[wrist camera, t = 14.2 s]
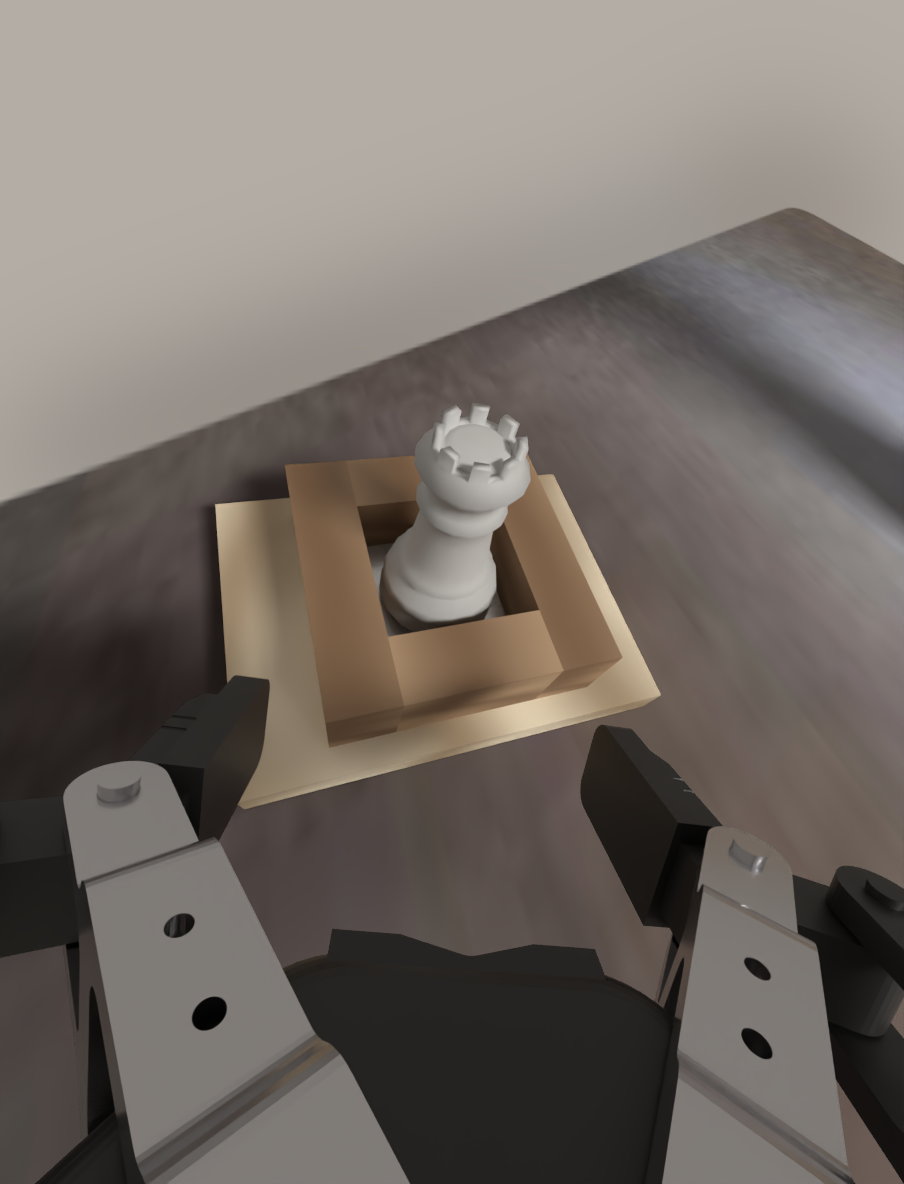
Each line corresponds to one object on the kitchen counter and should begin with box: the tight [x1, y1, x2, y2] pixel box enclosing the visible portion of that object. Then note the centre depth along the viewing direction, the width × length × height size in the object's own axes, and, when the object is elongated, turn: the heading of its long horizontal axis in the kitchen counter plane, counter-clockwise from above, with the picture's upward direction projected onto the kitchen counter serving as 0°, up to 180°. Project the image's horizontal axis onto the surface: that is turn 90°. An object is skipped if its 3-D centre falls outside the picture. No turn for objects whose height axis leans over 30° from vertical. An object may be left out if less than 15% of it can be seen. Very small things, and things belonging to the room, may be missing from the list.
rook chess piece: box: [379, 403, 531, 632], centre depth 16 cm, size 4×4×8 cm
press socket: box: [215, 454, 661, 809], centre depth 19 cm, size 16×12×4 cm
